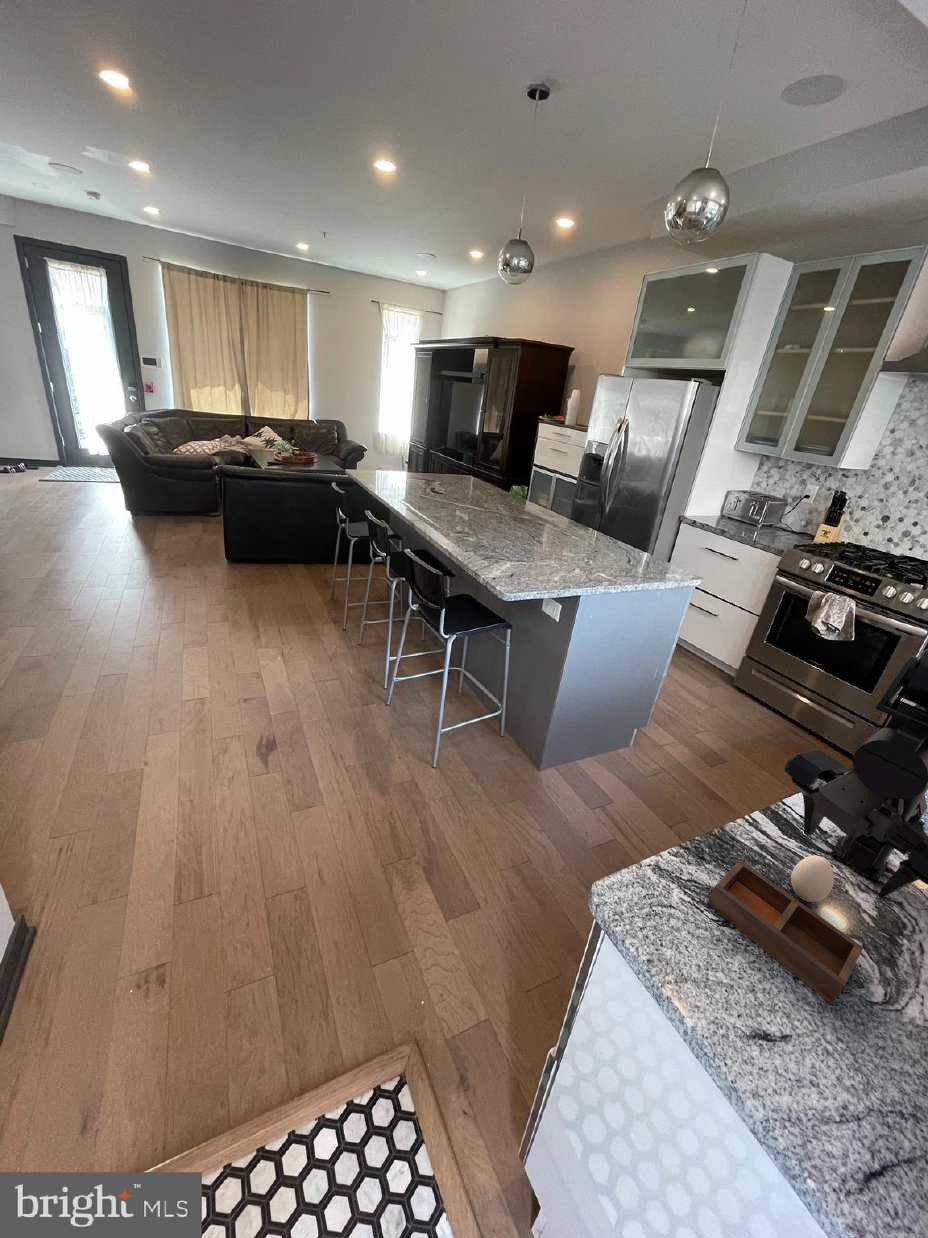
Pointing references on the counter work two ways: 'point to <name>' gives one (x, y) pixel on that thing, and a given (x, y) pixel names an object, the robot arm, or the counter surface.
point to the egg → (812, 878)
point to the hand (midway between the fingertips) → (842, 863)
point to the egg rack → (786, 930)
